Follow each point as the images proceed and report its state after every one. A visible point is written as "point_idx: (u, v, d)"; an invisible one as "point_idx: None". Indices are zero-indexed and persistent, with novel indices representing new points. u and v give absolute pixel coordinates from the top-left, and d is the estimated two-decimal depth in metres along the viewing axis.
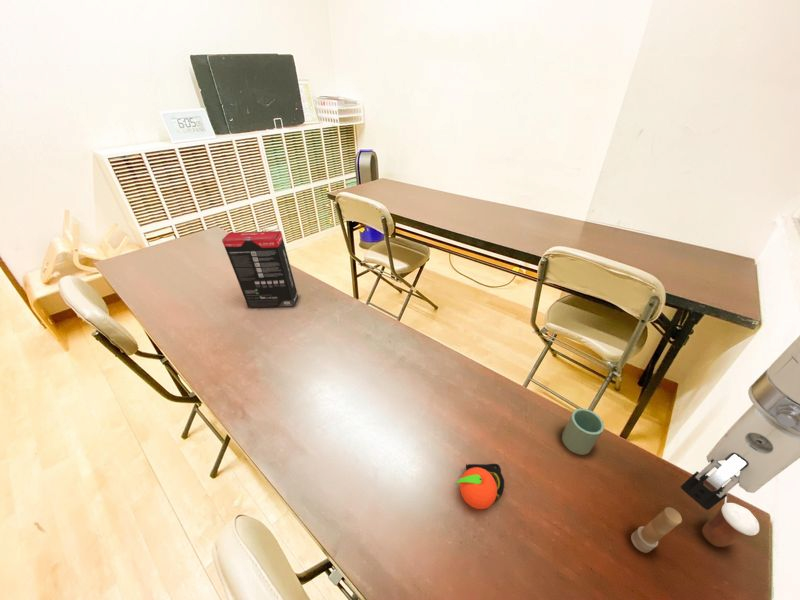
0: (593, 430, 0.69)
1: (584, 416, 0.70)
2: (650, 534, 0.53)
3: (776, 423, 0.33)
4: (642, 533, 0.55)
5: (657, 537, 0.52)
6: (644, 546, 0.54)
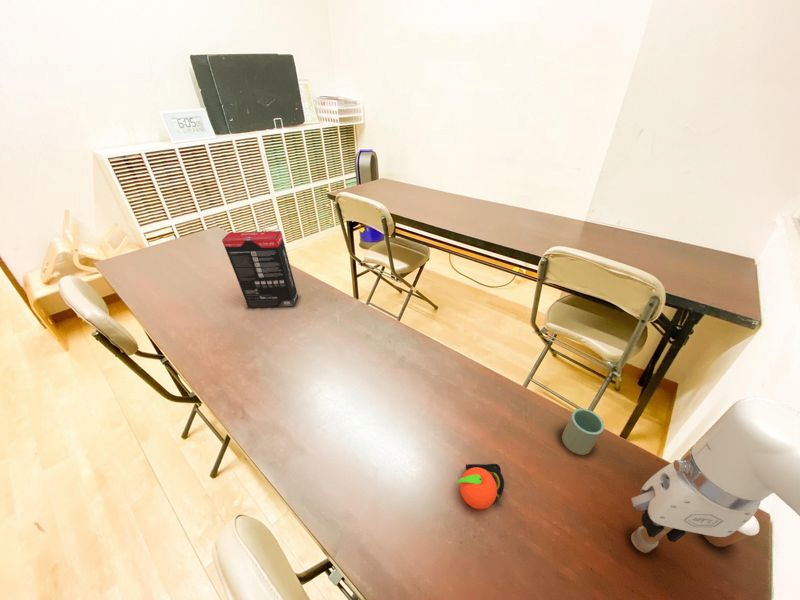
0: (593, 430, 0.69)
1: (584, 416, 0.70)
2: None
3: (681, 472, 0.43)
4: (642, 533, 0.55)
5: (657, 537, 0.52)
6: (644, 546, 0.54)
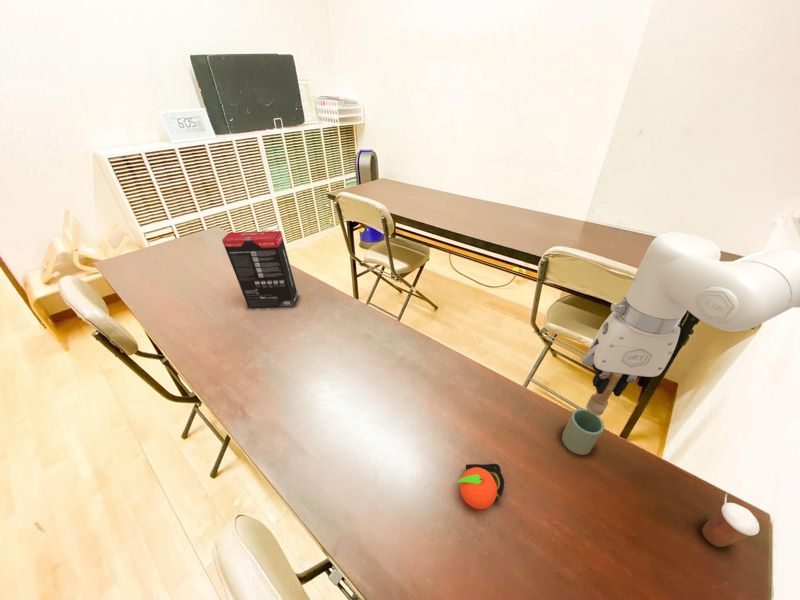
0: (593, 430, 0.69)
1: (584, 416, 0.70)
2: (600, 394, 0.61)
3: (617, 316, 0.51)
4: (594, 397, 0.62)
5: (605, 395, 0.60)
6: (596, 408, 0.62)
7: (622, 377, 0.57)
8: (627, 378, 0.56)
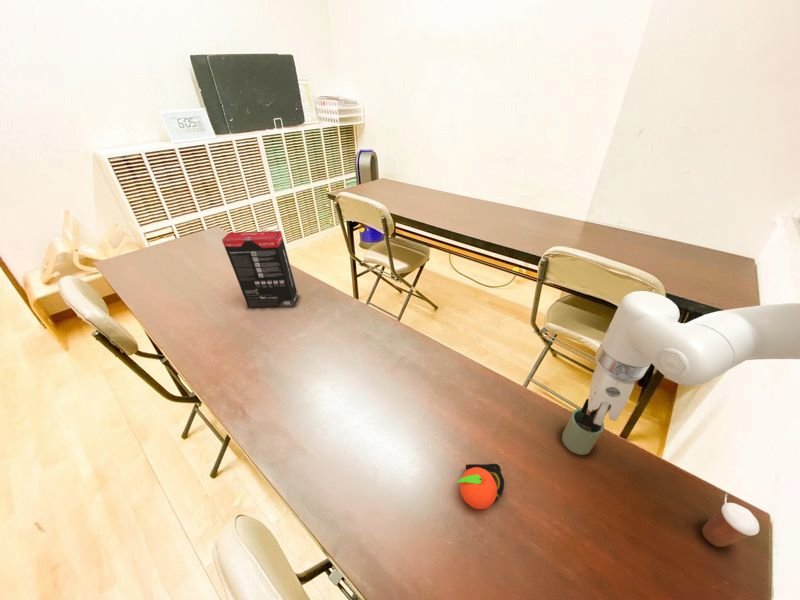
0: (593, 430, 0.69)
1: None
2: None
3: (617, 377, 0.54)
4: None
5: None
6: None
7: None
8: None
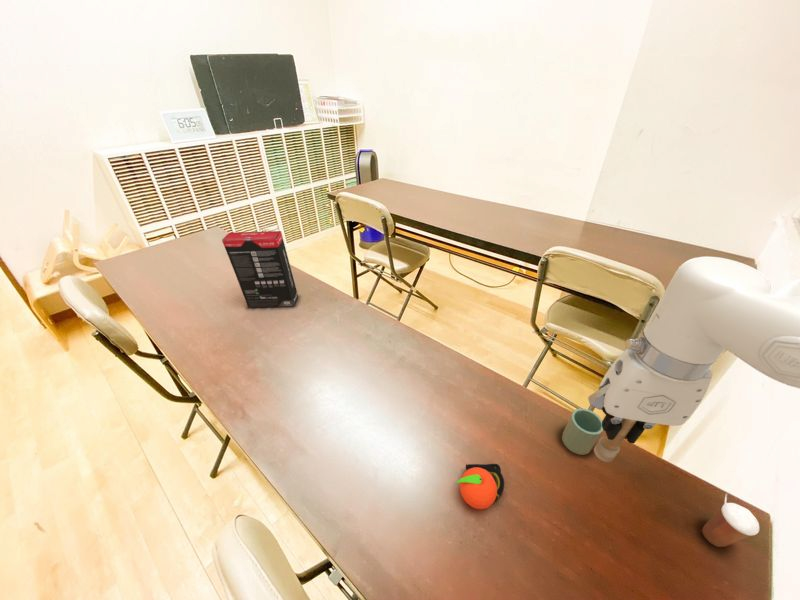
0: (593, 430, 0.69)
1: (584, 416, 0.70)
2: None
3: (633, 354, 0.42)
4: (603, 441, 0.53)
5: (617, 441, 0.51)
6: (605, 454, 0.53)
7: (637, 422, 0.48)
8: (644, 424, 0.47)
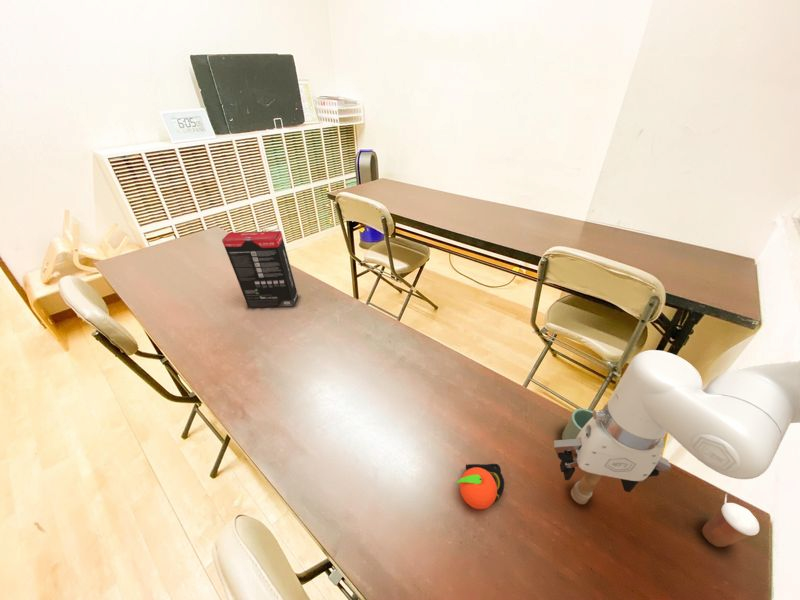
0: None
1: (584, 416, 0.70)
2: (583, 485, 0.59)
3: (600, 422, 0.49)
4: (578, 486, 0.61)
5: (589, 488, 0.58)
6: (580, 498, 0.61)
7: None
8: None
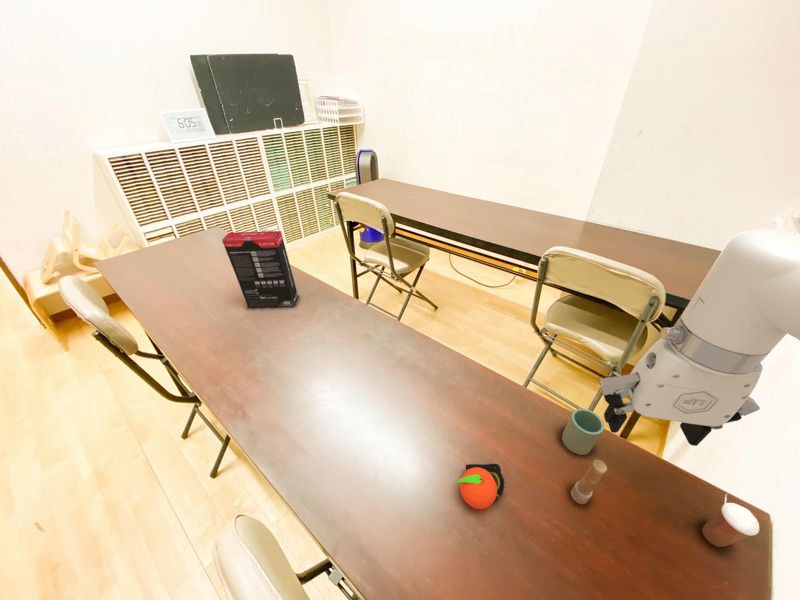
0: (593, 430, 0.69)
1: (584, 416, 0.70)
2: (583, 485, 0.59)
3: (669, 345, 0.37)
4: (578, 486, 0.61)
5: (589, 488, 0.58)
6: (580, 498, 0.61)
7: None
8: None
